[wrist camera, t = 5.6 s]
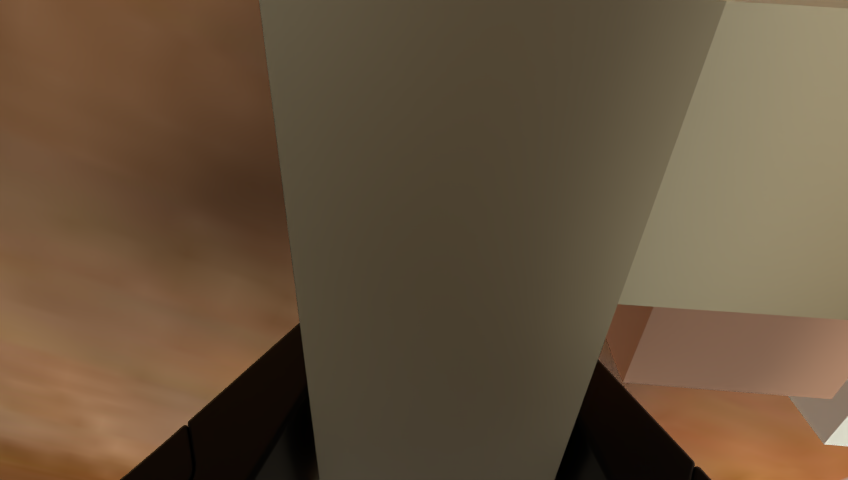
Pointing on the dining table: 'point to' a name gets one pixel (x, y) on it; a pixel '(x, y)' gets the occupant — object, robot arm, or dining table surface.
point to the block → (729, 351)
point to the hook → (539, 203)
